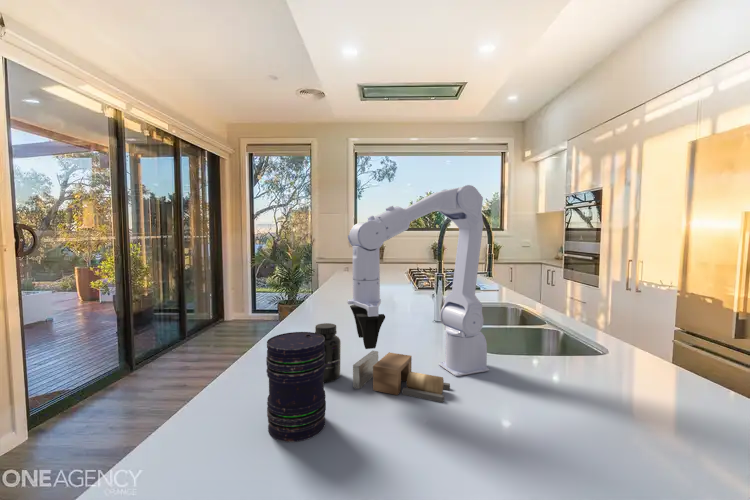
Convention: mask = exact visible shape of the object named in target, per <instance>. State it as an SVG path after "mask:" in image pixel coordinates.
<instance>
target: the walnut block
mask: <svg viewBox="0 0 750 500" xmlns="http://www.w3.org/2000/svg"><path fill="white" fill-rule="evenodd" d="M412 360H413V359H412V355H408V354H402V353H394V352H388V353H387V354H385V355H384V356H383V357H382V358H381V359H378V362H377V363H376V364H375V365H374V366H373V377H372V386H373V387H372V391H376V392H380V393H384V394H390V395H395V396H398V395H399V394H400V393H402V382H403V381H404V382H407V376H408V374H409V372H412Z"/></svg>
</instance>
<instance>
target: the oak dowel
mask: <svg viewBox="0 0 750 500" xmlns="http://www.w3.org/2000/svg"><path fill="white" fill-rule="evenodd" d="M444 381H445V380H444V377H442V376H438V375H431V374H426V373H420V372H414V371H411V372H409V374H408V376H407V381H406V388H409V389H414V390H419V391H424V392H429V393H435V394H440V395H443V392H444V389H443V386H444V383H445V382H444Z"/></svg>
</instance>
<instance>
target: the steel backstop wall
mask: <svg viewBox="0 0 750 500" xmlns="http://www.w3.org/2000/svg"><path fill="white" fill-rule="evenodd" d="M378 361H379V351H377V350H371V351H370V352H368V353H367V354H366V355H364V356H363V357H362V358H360V359H358V360H357V361H356V362H355V363H353V365H352V388H353V389H355V390H360V389H362V387H363V386H365V385H366V384H367V383H368V382H369V381H371V379H373V366H374V365H375V364H376V363H377V362H378Z"/></svg>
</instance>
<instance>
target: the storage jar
mask: <svg viewBox="0 0 750 500" xmlns="http://www.w3.org/2000/svg"><path fill="white" fill-rule="evenodd" d="M324 344H325V338H324V336H323V335H321V334H318V333H315V332H311V331H293V332H285V333H282V334H278V335H273V336H272V337H270V338H269V339H268V340H267V341H266V348H267V350H266V360H265V361H266V375H267V378H268V396H267V400H266V401H267V402H266V405H267V406H266V413H267V414H266V417H267V422H268V425H267V429H268V430H267V431H268V434H269V436H270V437H271V438H273V440H275V441H276V440H277V441H279V442H283V443H297V442H303V441H306V440H309V439H312V438H314V437H316V436H318V435H319V434H320V433H321V432H322V431H323V430H324V429H325V427H326V411H327V410H326V409H327V406H326V403H327V401H326V390H325V386H324V385H325V384H324V383H325V382H324V371H325V367H326V365H325V346H324Z"/></svg>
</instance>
